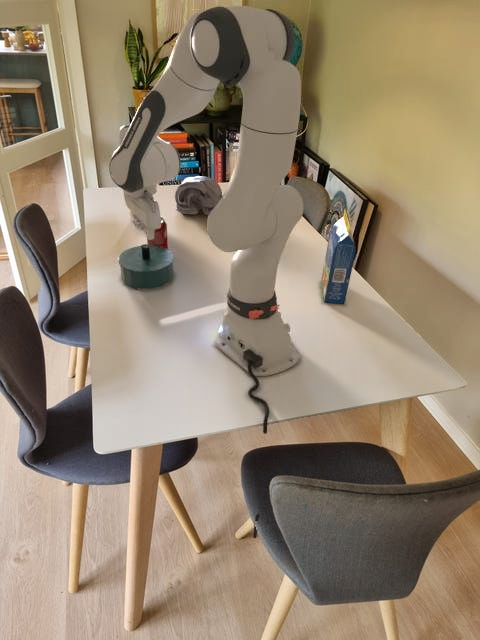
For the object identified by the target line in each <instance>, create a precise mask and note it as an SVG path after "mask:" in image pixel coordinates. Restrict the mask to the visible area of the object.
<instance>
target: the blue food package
mask: <svg viewBox="0 0 480 640" xmlns="http://www.w3.org/2000/svg"><path fill="white" fill-rule="evenodd" d="M326 246H327V247H326V251H325V252H326V253H325V258H324V263H323V268H322V273H321V281H320V284H321V285H320V287H321V293H322V300H323V303H324V304H329V305H330V304H331V305H342V306H343V305H345V302H346V299H347V293H348V289H349V285H350V280H351V277H352V271H353V267H354V262H355V258H356V250H357V247H356V244H355V239H354V235H353V233H352V230H351V224H350V219H349V217H348V213H347V210H346V209H344V210H343V216H342V217H341V218H340V219H338V221H336V222H335V223H334V224H333V225H332V227H331V229H330V232H329V235H328V241H327V245H326Z"/></svg>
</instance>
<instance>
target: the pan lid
mask: <svg viewBox="0 0 480 640" xmlns="http://www.w3.org/2000/svg"><path fill="white" fill-rule="evenodd" d="M174 260H175V256H174V254H173V252H172V251H171V250H169V248H168V249H165V248H163V247H159V246H151V245H148V244H147V243H143V244H141V245H138V246H133V247H129V248H127V249H126V250H124V251H122V252H121V253H120V254H119V255H118V257H117V262H118V265H119V267H120V266H121V267H122V268H124V269H126V270H128V271H132V272H137V273H151V272H157V271H160V270H163V269H165V268H167V267H169V266H170V265H171V264H172V263H174Z"/></svg>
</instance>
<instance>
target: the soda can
mask: <svg viewBox="0 0 480 640" xmlns="http://www.w3.org/2000/svg"><path fill="white" fill-rule="evenodd" d="M145 230H146V232H147V228H146V227H145ZM146 241H147V242H146V244H148V245H151V246H159V247H163V248H165V249H168V250H169V241H168V224H167V222H166V220H165V218H164V217H162V216H161V228H159V229H155V232H154V239H152V240H149V239H148V238H147V237H146Z"/></svg>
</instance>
